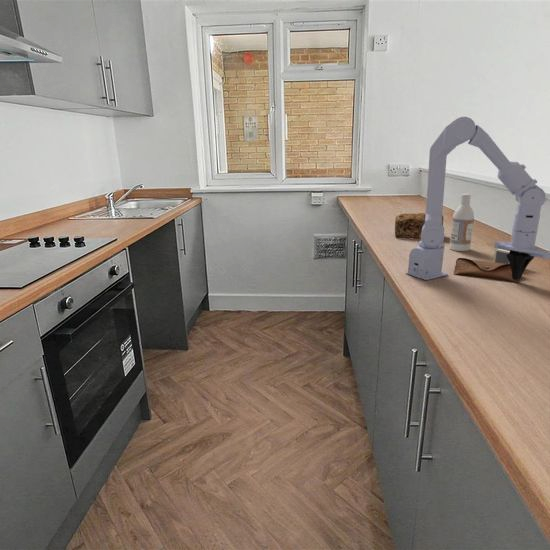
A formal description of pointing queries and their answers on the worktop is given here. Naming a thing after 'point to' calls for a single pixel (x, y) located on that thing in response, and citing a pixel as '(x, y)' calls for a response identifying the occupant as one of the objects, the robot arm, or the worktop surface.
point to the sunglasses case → (484, 269)
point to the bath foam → (462, 225)
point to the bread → (410, 225)
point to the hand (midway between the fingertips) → (516, 278)
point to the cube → (501, 256)
